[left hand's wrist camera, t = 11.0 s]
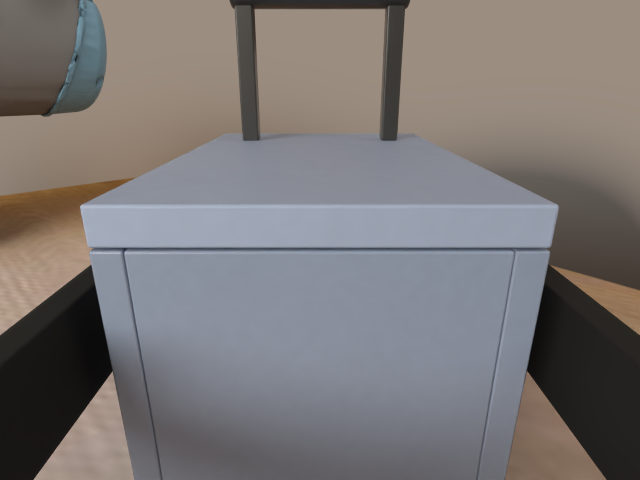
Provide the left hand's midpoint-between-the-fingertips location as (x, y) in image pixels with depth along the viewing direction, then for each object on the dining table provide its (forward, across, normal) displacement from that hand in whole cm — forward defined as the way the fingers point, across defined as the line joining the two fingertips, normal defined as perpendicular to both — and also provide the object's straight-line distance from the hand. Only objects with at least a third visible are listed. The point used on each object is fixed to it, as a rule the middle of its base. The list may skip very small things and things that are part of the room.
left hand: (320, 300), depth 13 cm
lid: (+4, 0, +3) cm, 5 cm away
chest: (+3, 0, -7) cm, 8 cm away
